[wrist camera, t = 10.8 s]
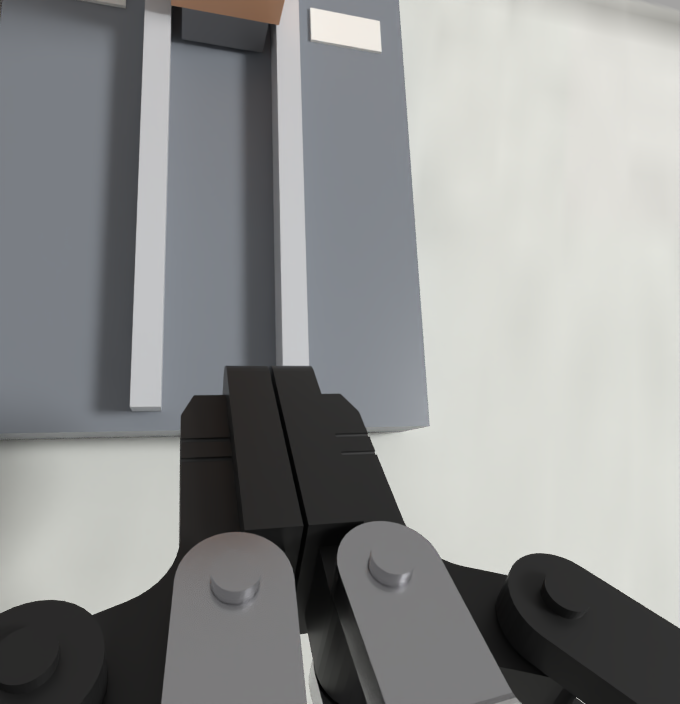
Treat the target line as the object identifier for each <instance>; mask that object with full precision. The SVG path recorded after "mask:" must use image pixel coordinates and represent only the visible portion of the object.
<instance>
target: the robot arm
mask: <svg viewBox="0 0 680 704" xmlns="http://www.w3.org/2000/svg"><path fill="white" fill-rule="evenodd" d="M367 433H368V432H367V430H366V427H365V425H364V423H363V420H362V418H361V415H360V413H359V411H358V410H357V409H356V408H355V407H354V406H353V405H352V404H351V403H350V402H349V401H348V400H347V399H346V398H344V397H343V396H342V395H341V394H321V391H320V388H319V385H318V382H317V379H316V376H315V373H314V370H313V368H312V366H269V368H268V366H225V368H224V377H223V393H222V395H194V396H193V397H192V399H191V400H190V402H189V403H188V405H187V406H186V408H185V409H184V411H183V412H182V414H181V427H180V512H179V550H178V553H177V556H176V558H175V561H174V563H173V565H172V566H171V568H170V569H169V570H168V572H167V573H166V574H165V575H164V577H163V578H162V579H161V580H160V581H159V582H158V583H156V584H155V585H154V586H153V587H152V588H150V589H149V590H147V591H146V592H144V593H143V594H141V595H139V596H137V597H135V598H133V599H131V600H129V601H127V602H124V603H122V604H119V605H117V606H114V607H112V608H109V609H107V610H104V611H102V612H99V613H97V614H94V615H91V614H90V613H89V612H87V611H86V610H85V609H84V608H82V607H80V606H77V605H75V604H73V603H69V602H65V601H57V600H43V601H35V602H30V603H26V604H23V605H19V606H16V607H13V608H11V609H9V610H7V611H5V612H3V613H0V704H307V700H306V690H305V680H304V670H303V660H302V650H301V640H300V634H306V633H308V636H309V641H310V647H311V652H312V657H313V660H312V664H311V668H310V674H309V689H310V695H311V699H312V702H313V704H584V703H585V704H680V628H678V627H676V626H675V625H673V624H672V623H670V622H668V621H667V620H665V619H664V618H662V617H660V616H659V615H657V614H656V613H654V612H652V611H651V610H649V609H648V608H646V607H644V606H643V605H641V604H640V603H638V602H636V601H635V600H633V599H632V598H630V597H629V596H627V595H625V594H624V593H622V592H621V591H619V590H617V589H616V588H614V587H613V586H611V585H609V584H608V583H606V582H605V581H603V580H601V579H600V578H598V577H597V576H595V575H593V574H592V573H590V572H589V571H587V570H585V569H584V568H582V567H581V566H579V565H577V564H575V563H573V562H572V561H569V560H567V559H565V558H562V557H559V556H555V555H551V554H543V553H536V554H530V555H527V556H524V557H522V558H520V559H519V560H517V561H516V562H515V564H514V565H513V566H512V568H511V570H510V572H509V574H508V575H503V574H498V573H493V572H489V571H484V570H479V569H474V568H469V567H464V566H460V565H456V564H453V563H450V562H448V561H445V560H443V559H441V558H440V556H439V554H438V553H437V551H436V549H435V548H434V547H433V546H432V545H431V543H430V542H429V541H428V540H427V539H425V538H424V537H423V536H422V535H420V534H419V533H418V532H416V531H415V530H413V529H411V528H409V527H407V526H406V525H405V523H404V521H403V518H402V516H401V513H400V511H399V509H398V506H397V504H396V501H395V499H394V496H393V494H392V491H391V489H390V486H389V484H388V482H387V479H386V477H385V474H384V472H383V469H382V467H381V464H380V462H379V459H378V457H377V455H375V450H374V447H373V445H372V442H371V440H370V437H368V435H367ZM576 697H577V698H578V699H580V700H581V701H582V702H584V703H582V702H581V701H580V700H578V699H577V698H576Z"/></svg>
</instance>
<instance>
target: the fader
mask: <svg viewBox="0 0 680 704" xmlns="http://www.w3.org/2000/svg"><path fill="white" fill-rule="evenodd" d="M284 1H285V0H171V5H172V6H177V7H182V39H184V40H190V41H196V42H202V43H208V44H214V45H219V46H225V47H231V48H237V49H243V50H249V51H255V52H261V53H263V48H264V43H265V38H266V34H267V29H268V24H269V23H270V24H275V25H279V23H280V19H281V14H282V10H283V6H284Z"/></svg>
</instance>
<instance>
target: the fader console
mask: <svg viewBox="0 0 680 704" xmlns="http://www.w3.org/2000/svg"><path fill="white" fill-rule="evenodd" d="M225 366H268V368H269V366H312V368H313V370H314V373H315V376H316V379H317V382H318V385H319V388H320V391H321V394H341V395H342V396H343V397H344V398H346V399H347V400H348V401H349V402H350V403H351V404H352V405H353V406H354V407H355V408H356V409H357V410H358V411H359V413H360V415H361V418H362V420H363V423H364V425H365V427H366V430H367V432H403V431H408V430H413V429H418V428H423V427H427V426H430V425H429V412H428V398H427V384H426V370H425V356H424V343H423V329H422V315H421V301H420V287H419V273H418V260H417V246H416V232H415V218H414V204H413V191H412V177H411V163H410V149H409V135H408V122H407V108H406V94H405V80H404V66H403V52H402V39H401V25H400V11H399V0H285V1H284V6H283V10H282V14H281V19H280V23H279V25H275V24H270V23H269V24H268V29H267V34H266V38H265V43H264V48H263V53H261V52H255V51H249V50H243V49H237V48H231V47H225V46H219V45H214V44H208V43H202V42H196V41H190V40H184V39H182V7H177V6H172V5H171V0H2V8H1V18H0V440H6V439H55V438H105V437H155V436H180V427H181V414H182V412H183V411H184V409H185V408H186V406H187V405H188V403H189V402H190V400H191V399H192V397H193V396H194V395H222V393H223V377H224V368H225Z"/></svg>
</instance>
